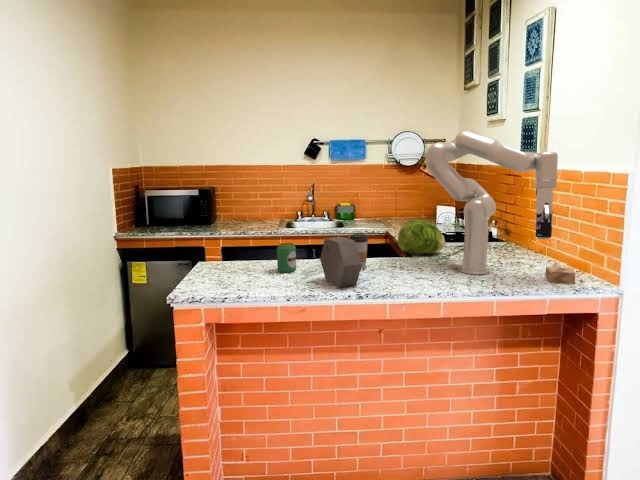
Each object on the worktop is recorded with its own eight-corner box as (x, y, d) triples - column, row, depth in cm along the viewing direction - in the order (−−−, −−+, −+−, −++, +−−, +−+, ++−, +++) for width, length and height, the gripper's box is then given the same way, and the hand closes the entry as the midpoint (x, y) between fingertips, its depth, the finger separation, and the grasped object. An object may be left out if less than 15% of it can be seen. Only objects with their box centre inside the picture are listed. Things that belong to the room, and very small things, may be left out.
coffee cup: (371, 268, 215) (372, 235, 212) (359, 272, 209) (360, 237, 206) (356, 266, 220) (357, 233, 218) (344, 269, 214) (344, 235, 212)
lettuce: (456, 241, 235) (445, 215, 248) (412, 234, 229) (403, 208, 242) (440, 266, 247) (431, 240, 260) (397, 260, 241) (390, 234, 254)
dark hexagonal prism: (366, 277, 181) (350, 227, 188) (348, 280, 178) (333, 229, 185) (346, 292, 195) (333, 245, 202) (330, 294, 192) (316, 247, 199)
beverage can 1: (286, 274, 206) (286, 246, 204) (273, 271, 211) (273, 244, 209) (299, 271, 211) (299, 244, 209) (287, 268, 217) (286, 241, 215)
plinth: (548, 282, 190) (549, 271, 190) (545, 276, 199) (546, 266, 198) (574, 284, 188) (575, 273, 187) (569, 278, 196) (570, 267, 196)
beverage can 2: (538, 236, 194) (539, 206, 192) (553, 238, 190) (554, 207, 189) (533, 238, 190) (534, 208, 188) (548, 240, 186) (550, 208, 184)
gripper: (532, 183, 196) (531, 228, 199) (537, 186, 180) (535, 234, 183) (553, 183, 194) (551, 228, 197) (559, 185, 178) (557, 234, 181)
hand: (543, 230), depth 190 cm, fingers closed on beverage can 2, 5 cm apart
